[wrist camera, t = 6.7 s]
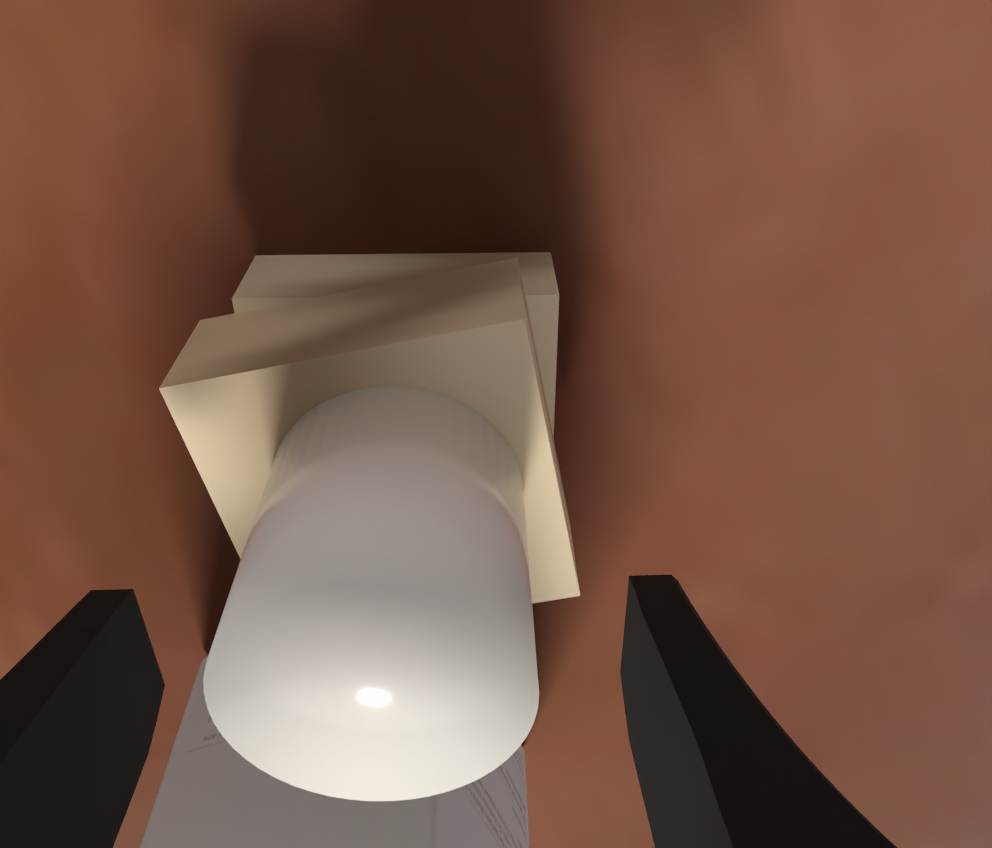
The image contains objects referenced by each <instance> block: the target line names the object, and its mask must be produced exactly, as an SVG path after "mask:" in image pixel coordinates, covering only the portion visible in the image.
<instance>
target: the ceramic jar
mask: <svg viewBox="0 0 992 848" xmlns="http://www.w3.org/2000/svg"><path fill="white" fill-rule="evenodd" d="M203 684H204V696H205V701H206V705H207V709H208V711H209V713H210V716H211V718H212V720H213V722H214V724H215V725H216V727H217V729H218V730H219V732H220V733H221V735H222V736H223V737H224V738H225V740H226V741H227V742H228V743H229V744H230V745H231V747H232V748H233V749H235V750H236V751H237V752H238V753H239V754H240V755H241V756H242V757H244V758H245V759H246V760H247V761H249V762H250V763H252V764H253V765H254V766H256V767H257V768H259V769H260V770H262V771H264V772H266V773H267V774H269V775H271V776H273V777H275V778H277V779H279V780H281V781H283V782H286V783H288V784H290V785H293V786H295V787H298V788H301V789H304V790H307V791H310V792H314V793H318V794H322V795H326V796H330V797H336V798H343V799H349V800H360V801H399V800H411V799H417V798H423V797H429V796H433V795H437V794H441V793H445V792H448V791H451V790H454V789H457V788H459V787H462V786H465V785H467V784H469V783H471V782H473V781H476V780H478V779H480V778H482V777H483V776H485V775H486V774H488V773H490V772H491V771H493V770H495V769H496V768H497V767H499V766H500V765H501V764H502V763H504V762H505V761H506V760H507V759H508V758H509V757H510V756H511V755H512V754H513V753H514V752H515V751H516V750H517V749H518V748H519V747H520V745H521V744H522V743H523V741H524V740H525V739H526V737H527V736H528V734H529V732H530V730H531V728H532V726H533V724H534V721H535V717H536V714H537V710H538V702H539V685H538V672H537V659H536V646H535V634H534V621H533V608H532V595H531V582H530V569H529V556H528V543H527V531H526V518H525V505H524V492H523V482H522V474H521V470H520V467H519V463H518V461H517V458H516V456H515V454H514V452H513V449H512V448H511V446H510V445H509V443H508V442H507V440H506V439H505V437H504V436H503V435H502V434H501V432H500V431H499V430H498V429H497V428H496V427H495V426H494V425H493V424H492V423H491V422H490V421H489V420H488V419H486V418H485V417H484V416H483V415H482V414H480V413H479V412H477V411H476V410H474V409H473V408H471V407H470V406H468V405H466V404H464V403H462V402H460V401H458V400H456V399H454V398H452V397H449V396H446V395H444V394H441V393H438V392H434V391H430V390H426V389H422V388H416V387H408V386H375V387H367V388H362V389H357V390H353V391H349V392H346V393H343V394H340V395H338V396H335V397H333V398H331V399H329V400H327V401H325V402H323V403H321V404H319V405H317V406H316V407H314V408H313V409H312V410H310V411H309V412H307V413H306V414H305V415H304V416H303V417H302V418H300V419H299V420H298V421H297V422H296V423H295V424H294V425H293V427H292V428H291V429H290V430H289V432H288V433H287V434H286V436H285V437H284V439H283V441H282V442H281V444H280V446H279V448H278V451H277V454H276V456H275V459H274V462H273V465H272V468H271V471H270V474H269V477H268V480H267V483H266V486H265V489H264V492H263V494H262V497H261V500H260V503H259V506H258V509H257V512H256V515H255V518H254V521H253V524H252V527H251V530H250V533H249V536H248V539H247V542H246V545H245V548H244V551H243V554H242V557H241V560H240V563H239V566H238V569H237V572H236V575H235V578H234V581H233V584H232V587H231V590H230V593H229V596H228V599H227V602H226V605H225V608H224V611H223V614H222V617H221V620H220V623H219V626H218V629H217V632H216V635H215V638H214V641H213V643H212V646H211V649H210V652H209V655H208V658H207V661H206V666H205V671H204V677H203Z"/></svg>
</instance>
